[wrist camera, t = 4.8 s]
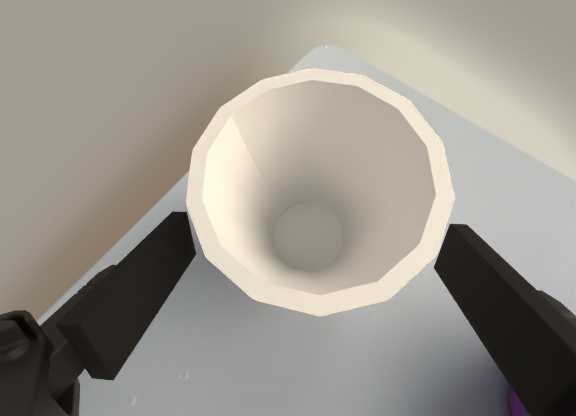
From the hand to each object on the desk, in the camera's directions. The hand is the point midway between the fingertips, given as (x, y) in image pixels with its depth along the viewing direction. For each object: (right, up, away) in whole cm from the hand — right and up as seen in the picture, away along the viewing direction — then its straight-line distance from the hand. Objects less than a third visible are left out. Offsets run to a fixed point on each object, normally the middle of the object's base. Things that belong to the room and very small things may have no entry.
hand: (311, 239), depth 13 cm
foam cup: (+1, -1, +9) cm, 9 cm away
